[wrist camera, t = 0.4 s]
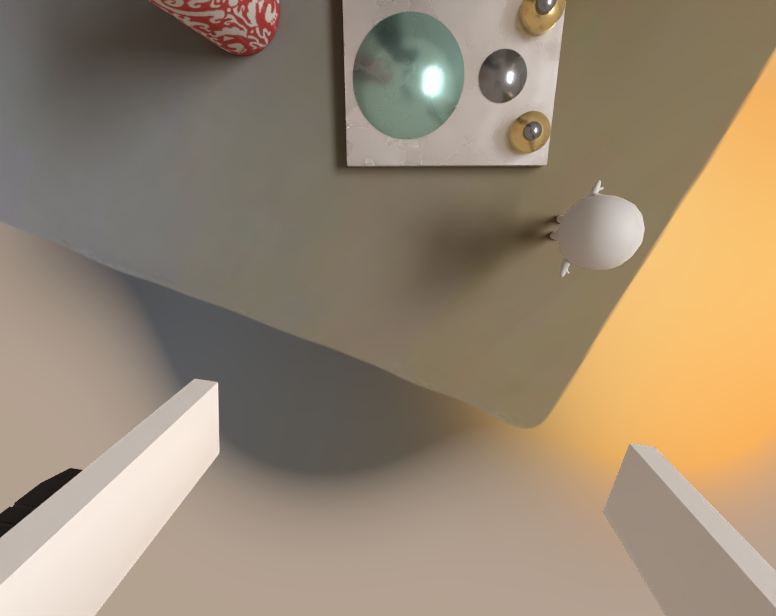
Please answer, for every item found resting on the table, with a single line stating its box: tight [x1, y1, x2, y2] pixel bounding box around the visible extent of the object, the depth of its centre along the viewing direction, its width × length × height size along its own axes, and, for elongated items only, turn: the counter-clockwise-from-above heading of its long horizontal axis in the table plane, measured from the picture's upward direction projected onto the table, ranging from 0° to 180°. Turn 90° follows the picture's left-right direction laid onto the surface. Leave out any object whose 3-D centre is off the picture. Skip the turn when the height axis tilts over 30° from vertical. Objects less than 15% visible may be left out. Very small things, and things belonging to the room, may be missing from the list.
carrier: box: [343, 0, 566, 167], centre depth 30 cm, size 14×18×3 cm
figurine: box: [550, 180, 645, 277], centre depth 29 cm, size 8×5×12 cm
